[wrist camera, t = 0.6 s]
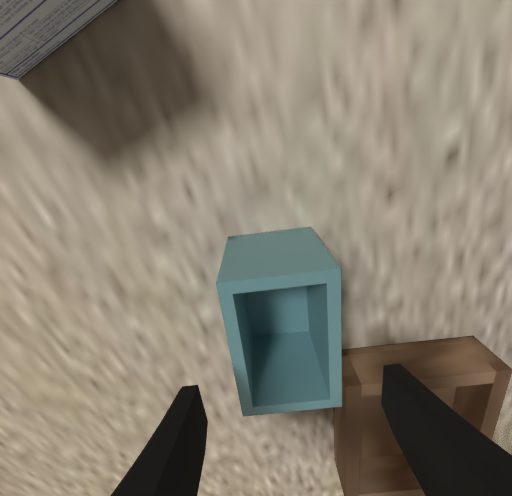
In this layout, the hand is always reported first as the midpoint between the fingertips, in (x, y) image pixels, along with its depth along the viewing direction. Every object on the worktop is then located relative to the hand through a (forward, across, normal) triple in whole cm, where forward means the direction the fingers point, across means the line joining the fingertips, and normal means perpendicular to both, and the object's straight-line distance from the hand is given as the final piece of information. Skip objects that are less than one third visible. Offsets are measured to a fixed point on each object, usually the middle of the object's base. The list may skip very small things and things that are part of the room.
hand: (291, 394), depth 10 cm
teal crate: (+8, 0, 0) cm, 8 cm away
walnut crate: (+8, -9, +12) cm, 18 cm away
